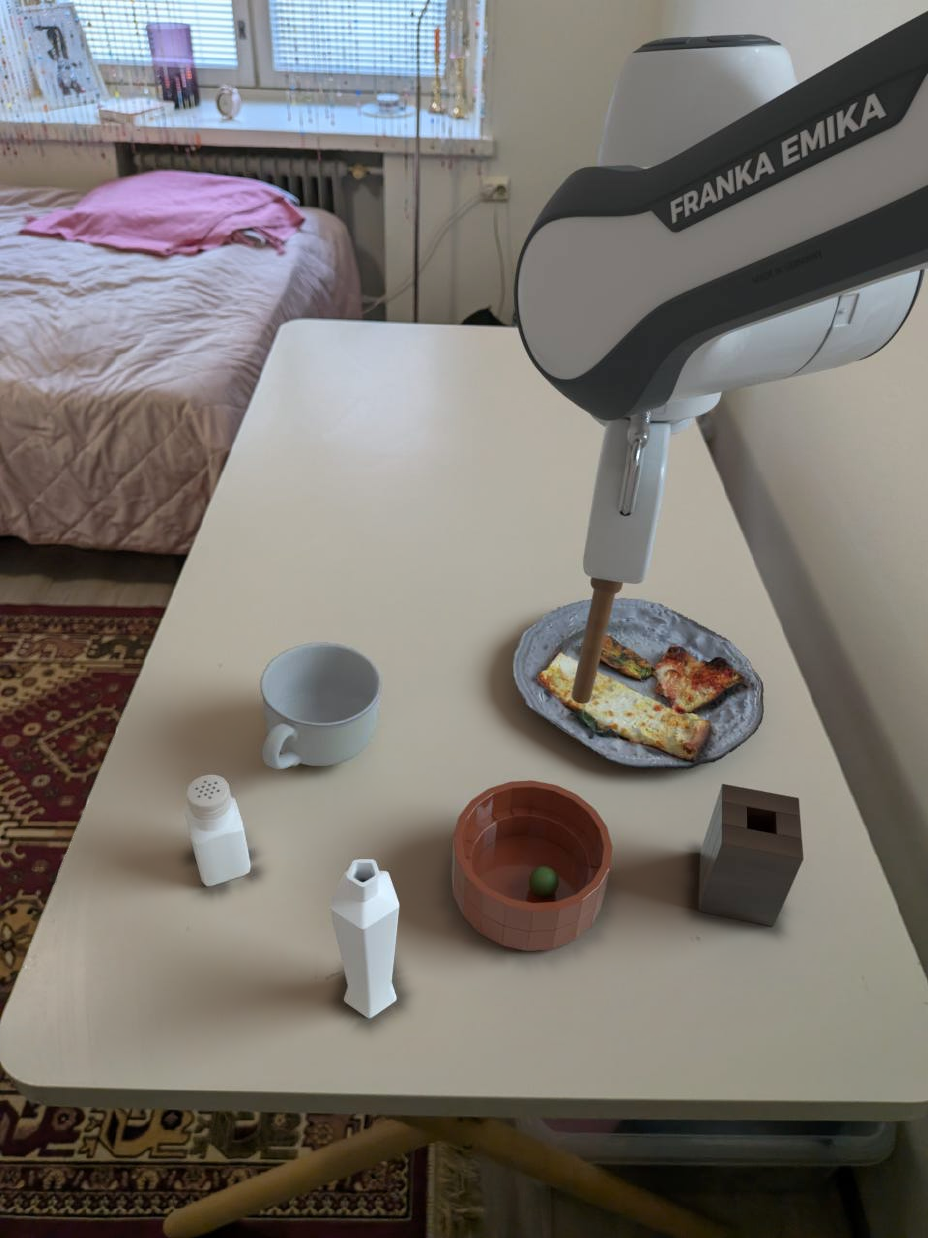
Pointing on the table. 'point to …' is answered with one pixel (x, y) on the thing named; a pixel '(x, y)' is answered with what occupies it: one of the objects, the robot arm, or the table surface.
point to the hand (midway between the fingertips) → (614, 553)
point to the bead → (543, 881)
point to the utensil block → (750, 854)
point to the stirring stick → (594, 637)
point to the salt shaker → (216, 830)
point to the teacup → (318, 705)
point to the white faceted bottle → (366, 935)
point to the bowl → (529, 864)
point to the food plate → (642, 685)
